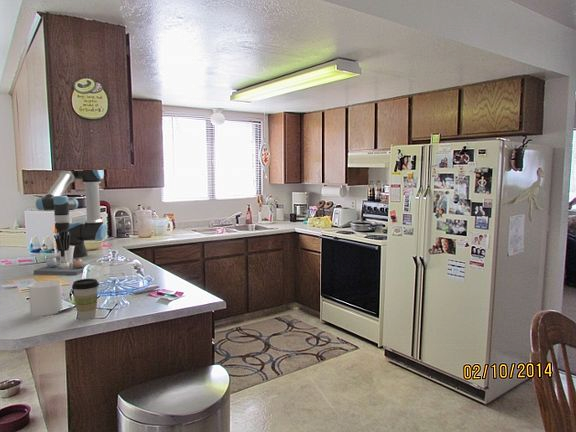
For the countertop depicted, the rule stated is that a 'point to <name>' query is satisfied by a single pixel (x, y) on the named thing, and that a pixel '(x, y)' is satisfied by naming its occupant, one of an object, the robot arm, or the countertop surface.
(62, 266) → the button two
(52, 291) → the cup
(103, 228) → the robot arm
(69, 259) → the cup
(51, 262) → the button one
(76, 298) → the coffee cup
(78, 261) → the button three
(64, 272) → the console
